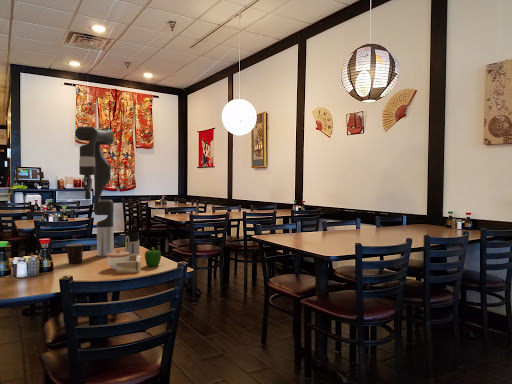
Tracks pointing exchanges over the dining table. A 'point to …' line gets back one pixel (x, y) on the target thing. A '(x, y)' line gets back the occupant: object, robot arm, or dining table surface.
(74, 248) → the coffee mug
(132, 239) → the electric kettle
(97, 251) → the robot arm
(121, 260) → the lidded jar
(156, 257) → the bell pepper
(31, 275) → the dining table surface
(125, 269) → the cedar bay
